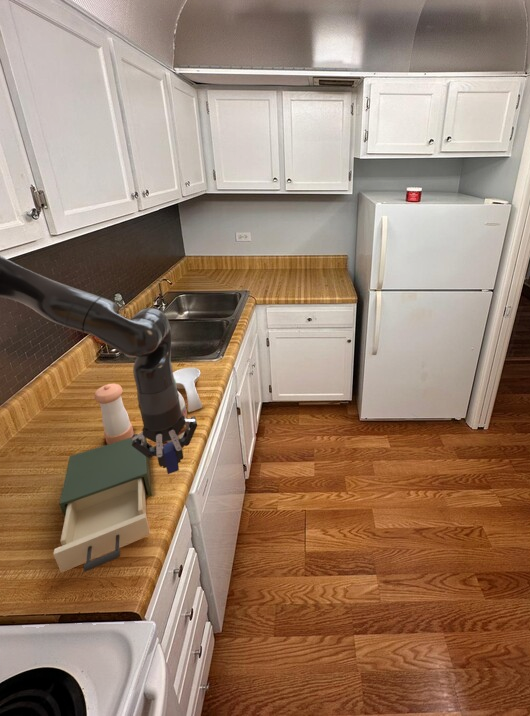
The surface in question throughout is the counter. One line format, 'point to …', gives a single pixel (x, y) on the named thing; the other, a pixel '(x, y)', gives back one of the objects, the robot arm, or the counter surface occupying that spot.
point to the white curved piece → (189, 386)
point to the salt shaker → (113, 413)
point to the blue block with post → (170, 457)
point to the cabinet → (104, 471)
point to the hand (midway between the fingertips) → (171, 462)
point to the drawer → (102, 526)
